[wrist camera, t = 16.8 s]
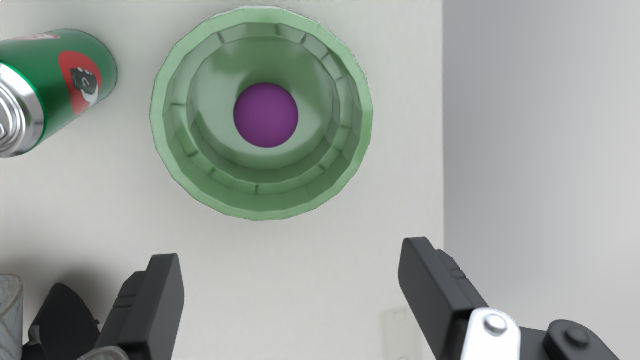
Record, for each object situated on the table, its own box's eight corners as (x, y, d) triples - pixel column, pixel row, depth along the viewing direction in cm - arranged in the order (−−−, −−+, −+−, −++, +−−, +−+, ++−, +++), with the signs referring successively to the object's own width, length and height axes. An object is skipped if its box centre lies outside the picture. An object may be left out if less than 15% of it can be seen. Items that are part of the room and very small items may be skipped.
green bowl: (358, 8, 28) (383, 11, 22) (346, 180, 34) (363, 214, 29) (154, 2, 25) (128, 4, 20) (183, 187, 32) (169, 226, 27)
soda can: (74, 12, 25) (-56, 26, 14) (134, 72, 27) (60, 122, 17) (24, 59, 26) (-135, 105, 15) (87, 113, 28) (-13, 186, 17)
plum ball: (295, 76, 29) (301, 90, 24) (295, 134, 31) (301, 156, 27) (232, 76, 28) (228, 90, 24) (236, 135, 30) (233, 159, 26)
